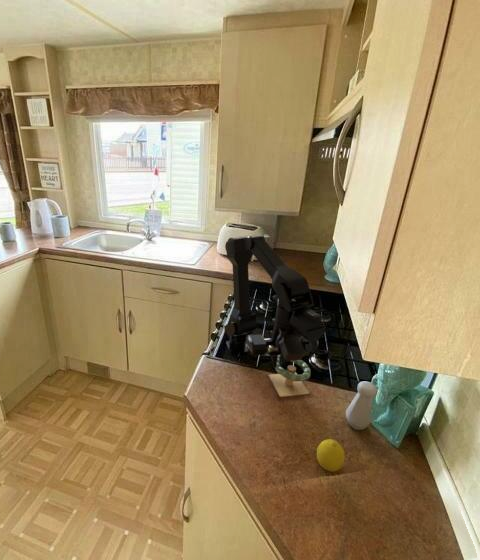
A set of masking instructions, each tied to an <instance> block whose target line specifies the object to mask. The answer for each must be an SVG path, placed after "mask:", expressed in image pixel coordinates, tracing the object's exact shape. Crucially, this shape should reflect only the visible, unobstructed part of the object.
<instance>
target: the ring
mask: <svg viewBox="0 0 480 560" xmlns="http://www.w3.org/2000/svg"><path fill="white" fill-rule="evenodd" d="M290 362H291V363H294V364H295V365H298V366H299V367H300V368H301V369H302V371H303V373H301V374H298V373H297V374H292V373H290V372H287V369H285V368H284V367H281V365H280V355H278V357H277V365H276V368H274V370H275V371H276V372H277V374H281V375H282V376H283V377H285V378H287V379H290V380H292V381H302V382H306V381H308V380H309V379H311V368H310V367H309V365H308V364H307V363H306V362H305V361H304V360H302V359H301V360H293V361H290Z"/></svg>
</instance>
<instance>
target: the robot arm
mask: <svg viewBox="0 0 480 560" xmlns="http://www.w3.org/2000/svg"><path fill="white" fill-rule="evenodd" d="M224 247H225V248H224V249H225V252H226V257H227V259H228V261H229V263H230V264H231V266H232V283H233V302H234V303H233V306H234V307H233V310H232V311H231V313H230V315H229V323H227V324H225V325H224V326H223V328H224V329H223V331H224V333H225V334H226V335H227V336H228V337H229V340H226V341H225V344H226V347H227V350H228V351H229V353H230V354H232V355H233V354H245V353H249V351H250V353H251V355H253V356H264V355H265V354H268V356H269V357H270V361H271V365H272V367H273V368H274V369H275V368H276V365H277V357H278V355H280V365H281V367H282V368H284V366H285V365H286V363H287V362H291V361H293V360H302V359H303V357H308V356H310V353H311V352H314V351H318V348H319V339H320V338H322V337H323V335H324V333H325V331H326V328H327V327H326V323H325V322H324V321H323V320H322V319H323V317H322V315H320V314H319V313H316V312H315V311H313V310H312V309H310V308H313V307H314V306H315V304H314V297H313V295H312V293H311V289H310V285H309V282H308V280H307V278H306V277H305V276H304V275H303V274H301V273H300V272H299V271H298V270H296V269H294V268H291V267H289V266H288V265H286V263H285V262H284V261H283V260H282V259H281V258H280V257H279V255H278V254H277V253H276V252H275V251H274V249H273V248H272V247H271V246H270V245H269V243H268V242H266V238H265V236H264V235H262V234H255V235H249V236H248V235H242V236H235V237H229V238H228V239H227V241H226V242H225V246H224ZM253 256H254V258H255V259H256V260H257V262H258V263H259V264H260V265H261V267H262V268H263V269H264V270H265V273H267V274H268V276H269V277H270V279H271V287H272V289H273V291H274V292H275V294H276V295H273V296H272V300H273V301H275V302H277V304H276V308H275V309H276V311H275V316H274V317H273V318H272V323H273V327H272V328H273V329H272V330H270V333H269V334H270V336H271V338H269V337H268V338H264V337H263V336H262V334H260V333H259V334H253V333H254V331H255V330H256V329H257V326H258V323H257V318H258V317H257V314H256V313H254V312H253V311H252V308H251V306H250V278H249V273H250V272H249V264H250V262H251V260H252V259H253ZM300 298H303V299H301V300H296V299H300ZM279 348H280V352H279Z"/></svg>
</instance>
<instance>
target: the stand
mask: <svg viewBox="0 0 480 560" xmlns="http://www.w3.org/2000/svg"><path fill="white" fill-rule="evenodd" d="M286 371H287V372H290V373H292V374H297V375H298V373H297V372H296V371H297V367H296V366H294V365H293V364H290V365H288V366H287V367H286ZM268 378H269V379H270V381H271V382H272V384H273V386H274V388H275V390H276V392H277V394H278V396H279V397H280V398H284V397H295V396H304V395H305V396H306V395H310V394H311V393H310V391H309V389H308V388H307V387H306V385H305V384H304V381H292V380H290V379H287V378H285V377H283V376H282V375H281V374H279V373H271V374H268Z"/></svg>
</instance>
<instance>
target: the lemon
mask: <svg viewBox="0 0 480 560" xmlns="http://www.w3.org/2000/svg"><path fill="white" fill-rule="evenodd" d="M345 455H346V454H345V451H344V448H343V446H342V445H341V443H339V441H337V440H334V439H332V438H331V439H330V438H327V439H324V440H323V441H321V442H320V444H319V445H318V447H317V449H316V458H317V462H318V464H319V465H320V467H322V469H324V470H326V471H328V472H330V473H331V472H332V473H333V472H337V471H339V470H341V468H342V467H343V466H344V464H345Z"/></svg>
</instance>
